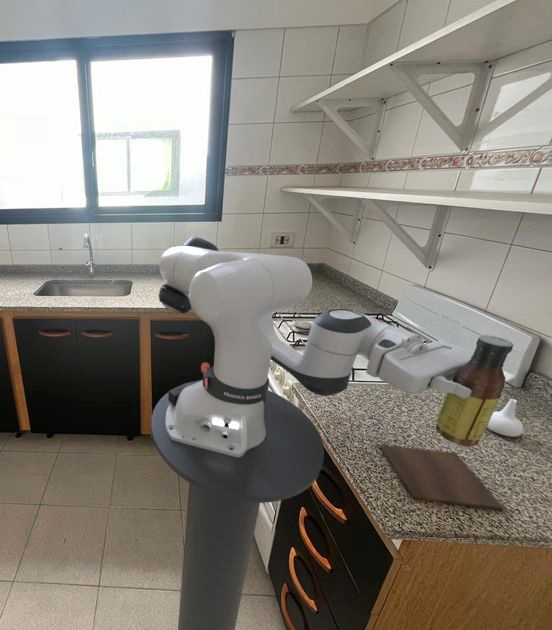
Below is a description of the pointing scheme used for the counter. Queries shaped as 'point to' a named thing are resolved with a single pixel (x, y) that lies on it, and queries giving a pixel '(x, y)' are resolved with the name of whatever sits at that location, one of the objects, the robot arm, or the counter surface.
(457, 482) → the walnut board
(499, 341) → the sauce bottle
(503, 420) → the garlic bulb
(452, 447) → the counter surface
